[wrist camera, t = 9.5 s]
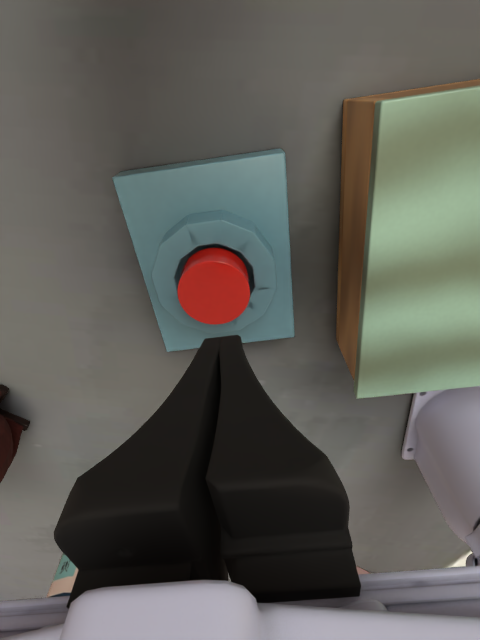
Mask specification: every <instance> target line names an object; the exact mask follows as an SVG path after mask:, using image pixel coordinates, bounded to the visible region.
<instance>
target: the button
mask: <svg viewBox="0 0 480 640" xmlns="http://www.w3.org/2000/svg"><path fill="white" fill-rule="evenodd" d="M177 295H178V299H179V302H180V304H181V306H182V308H183V309H184V311H185V312H186V313H187V314H188V315H189V316H190V317H192V318H193V319H195V320H197V321H199V322H202V323H206V324H213V325H217V324H224V323H228V322H230V321H232V320H234V319H236V318H237V317H239V316H240V315H241V314H242V313H243V312H244V310H245V309H246V307H247V305H248V303H249V299H250V285H249V275H248V271H247V268H246V266H245V264H244V262H243V261H242V260H241V259H240V258H239V257H238V256H237V255H236V254H234V253H233V252H231V251H228V250H226V249H222V248H206V249H203V250H200V251H198V252H196V253H194V254H193V255H192V256H191V257H189V259H188V260H187V261H186V263H185V264H184V267H183V269H182V273H181V276H180V280H179V284H178V289H177Z"/></svg>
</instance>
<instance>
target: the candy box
mask: <svg viewBox="0 0 480 640" xmlns="http://www.w3.org/2000/svg"><path fill="white" fill-rule="evenodd" d="M478 85H480V79H476V80H470V81H463V82H456V83H450V84H443V85H437V86H430V87H423V88H417V89H410V90H404V91H397V92H390V93H384V94H377V95H371V96H364V97H357V98H351V99H345V100H344V101H343V130H342V162H341V195H340V228H339V261H338V293H337V326H336V340H337V342H338V344H339V347H340V350H341V352H342V354H343V357H344V359H345V361H346V364H347V366H348V368H349V371H350V373H351V375H352V378H353V380H354V379H355V365H356V352H357V338H358V325H359V312H360V298H361V285H362V272H363V258H364V245H365V232H366V218H367V205H368V191H369V178H370V165H371V151H372V138H373V125H374V111H375V103H376V101H379V100H385V99H392V98H399V97H405V96H412V95H419V94H425V93H432V92H439V91H445V90H452V89H458V88H465V87H472V86H478Z"/></svg>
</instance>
